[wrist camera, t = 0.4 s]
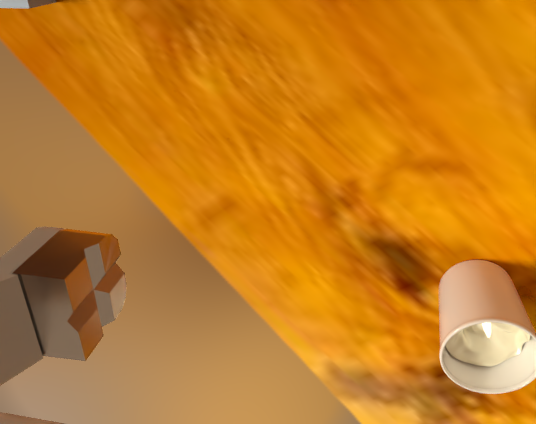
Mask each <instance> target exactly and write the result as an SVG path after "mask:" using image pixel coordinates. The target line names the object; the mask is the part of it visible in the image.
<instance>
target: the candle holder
mask: <svg viewBox="0 0 536 424" xmlns="http://www.w3.org/2000/svg"><path fill="white" fill-rule="evenodd" d="M439 328H440V354H439V356H440V363H441V366H442V368H443V370H444V372H445V373H446V375H447V376H448V377H449V378H450V379H451V380H452V381H454V382H455V383H456V384H458V385H460V386H461V387H463V388H466V389H468V390H471V391H474V392H479V393H486V394H500V393H507V392H511V391H514V390H517V389H520V388H522V387H524V386H526V385H527V384H529V383H530V382H532V381H533V380H534V379H535V378H536V332H535V330H534V328H533V325H532V323H531V321H530V319H529V317H528V314H527V312H526V310H525V308H524V305H523V303H522V301H521V299H520V297H519V294H518V292H517V290H516V288H515V286H514V284H513V281H512V280H511V278H510V276H509V275H508V273H507V272H506V271H505V270H504V269H503V268H502V267H500V266H499V265H497V264H495V263H492V262H489V261H485V260H468V261H464V262H461V263H458V264H456V265H454V266H452V267H451V268H450V269H449V270H447V271H446V273H445V274H444V275H443V277H442V278H441V281H440V284H439Z"/></svg>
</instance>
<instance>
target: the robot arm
mask: <svg viewBox="0 0 536 424" xmlns="http://www.w3.org/2000/svg"><path fill="white" fill-rule="evenodd" d="M120 255H121V252H120V247H119V243H118V239H117V238H115V237H114V236H113V235H112V234H104V233H96V232H87V231H80V230H72V229H63V228H53V227H38V228H35V229H34V230H33V231H32V232H31V233H29V234H28V235H27V236H26V237H25V238H23V239H22V240H21V241H20V242H19V243H17V244H16V245H15V246H14V247H13V248H11V249H10V250H9V251H8V252H7V253H5V254H4V255H3V256H2V257H0V385H2V384H4V383H5V382H7V381H8V380H10V379H11V378H13V377H14V376H16V375H18V374H19V373H21V372H22V371H24V370H25V369H27V368H28V367H30V366H32V365H33V364H35V363H36V362H38V361H39V360H41V359H43V356H49V357H57V358H66V359H74V360H82V361H86V360H87V358H88V357H89V356H90V354H91V353H92V351H93V350H94V348H95V347H96V346H97V344H98V343H99V342H100V340H101V339H102V337H103V331H102V326H104V325H106V324H108V323H110V322H112V321H114V320H115V319H116V317H117V316H118V314H119V313H120V312H121V309H122V307H123V304H124V301H125V298H126V278H125V273H124V272H123V271H122V270H121V269H120V267H119V266H118V265H117V264H116V261H117V260H118V258H119V257H120ZM0 424H64V423H58V422H53V421H47V420H41V419H36V418H30V417H25V416H19V415H14V414H8V413H2V412H0Z"/></svg>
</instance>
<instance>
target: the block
mask: <svg viewBox="0 0 536 424" xmlns="http://www.w3.org/2000/svg"><path fill="white" fill-rule="evenodd" d="M55 2H56V0H0V8H33V7H37V6H42V5H46V4H51V3H55Z"/></svg>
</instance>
